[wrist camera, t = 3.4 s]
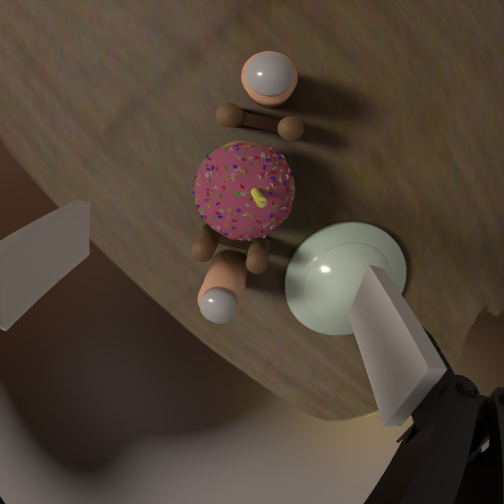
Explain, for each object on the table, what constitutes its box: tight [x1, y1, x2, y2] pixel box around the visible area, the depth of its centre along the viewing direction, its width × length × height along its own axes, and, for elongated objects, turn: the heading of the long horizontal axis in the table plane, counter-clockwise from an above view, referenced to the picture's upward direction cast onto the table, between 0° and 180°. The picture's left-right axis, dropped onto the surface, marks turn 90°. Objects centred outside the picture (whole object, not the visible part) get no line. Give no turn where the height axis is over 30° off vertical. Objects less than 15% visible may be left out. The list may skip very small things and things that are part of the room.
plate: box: [285, 220, 406, 335], centre depth 32 cm, size 14×14×1 cm
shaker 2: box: [241, 51, 298, 108], centre depth 21 cm, size 4×4×8 cm
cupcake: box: [193, 141, 295, 241], centre depth 23 cm, size 9×8×12 cm
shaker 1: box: [198, 250, 248, 323], centre depth 29 cm, size 4×4×8 cm
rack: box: [192, 103, 304, 274], centre depth 26 cm, size 7×14×5 cm, turn 168°
